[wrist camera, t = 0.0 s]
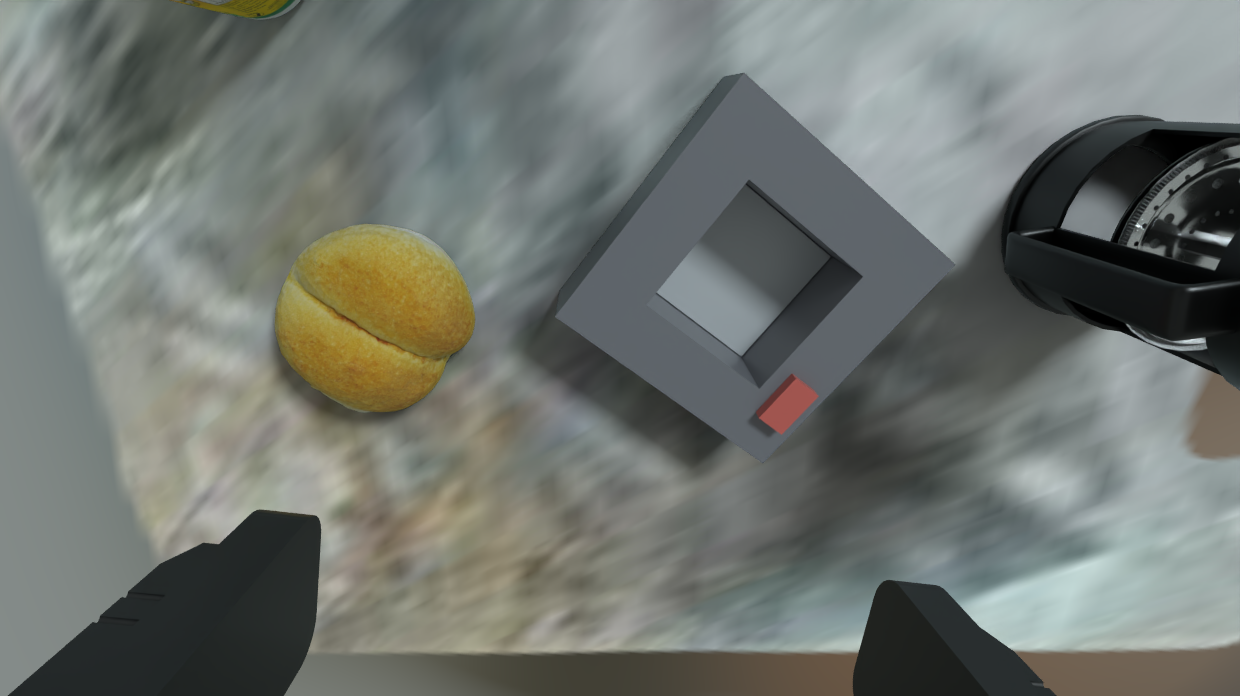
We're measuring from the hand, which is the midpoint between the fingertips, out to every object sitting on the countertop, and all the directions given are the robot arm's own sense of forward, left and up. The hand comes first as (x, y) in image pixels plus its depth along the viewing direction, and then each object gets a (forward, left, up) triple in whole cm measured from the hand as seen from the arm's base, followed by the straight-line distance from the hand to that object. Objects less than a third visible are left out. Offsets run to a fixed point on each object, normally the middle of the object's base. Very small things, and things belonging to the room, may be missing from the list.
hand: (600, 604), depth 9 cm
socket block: (-3, +6, -22) cm, 23 cm away
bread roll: (+9, -6, -23) cm, 25 cm away
